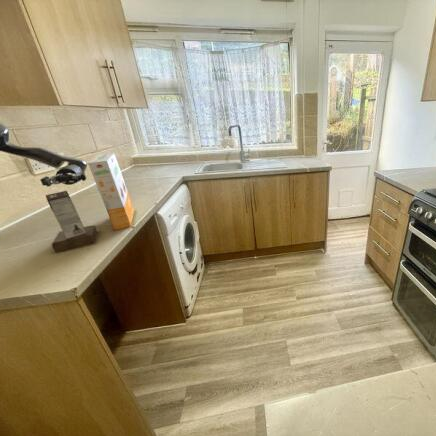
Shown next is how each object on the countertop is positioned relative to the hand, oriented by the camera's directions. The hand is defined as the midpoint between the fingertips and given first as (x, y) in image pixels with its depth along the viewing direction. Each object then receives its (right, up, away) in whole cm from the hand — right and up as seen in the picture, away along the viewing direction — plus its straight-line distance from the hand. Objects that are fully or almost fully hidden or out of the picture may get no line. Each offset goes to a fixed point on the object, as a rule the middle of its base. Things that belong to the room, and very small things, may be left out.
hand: (61, 182), depth 99 cm
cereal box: (+13, -16, +19) cm, 28 cm away
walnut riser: (+7, -24, 0) cm, 25 cm away
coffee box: (+7, -21, -2) cm, 22 cm away
